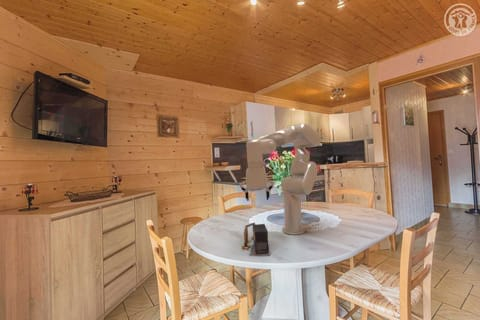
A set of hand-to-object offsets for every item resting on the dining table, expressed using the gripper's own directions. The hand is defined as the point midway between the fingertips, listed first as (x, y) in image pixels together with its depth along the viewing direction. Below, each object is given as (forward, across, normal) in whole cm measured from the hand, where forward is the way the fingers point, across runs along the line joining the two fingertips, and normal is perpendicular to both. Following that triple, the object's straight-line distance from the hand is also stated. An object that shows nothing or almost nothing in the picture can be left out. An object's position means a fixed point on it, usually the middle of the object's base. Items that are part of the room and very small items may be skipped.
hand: (257, 199), depth 112 cm
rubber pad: (+23, 0, +5) cm, 24 cm away
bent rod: (+23, +5, -4) cm, 24 cm away
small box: (+23, 0, +5) cm, 23 cm away
